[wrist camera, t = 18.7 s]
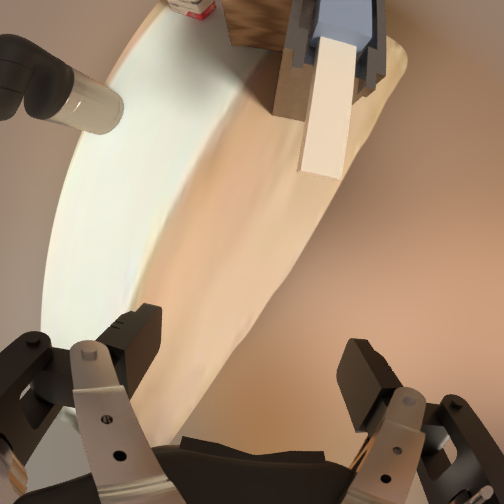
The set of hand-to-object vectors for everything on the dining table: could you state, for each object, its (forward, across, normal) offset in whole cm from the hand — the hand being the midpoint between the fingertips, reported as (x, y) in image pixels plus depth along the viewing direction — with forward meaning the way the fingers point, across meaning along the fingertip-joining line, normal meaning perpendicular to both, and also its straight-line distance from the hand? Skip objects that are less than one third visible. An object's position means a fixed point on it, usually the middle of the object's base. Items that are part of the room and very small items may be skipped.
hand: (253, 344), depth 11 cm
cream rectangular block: (+16, -4, -19) cm, 25 cm away
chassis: (+38, -4, -26) cm, 47 cm away
